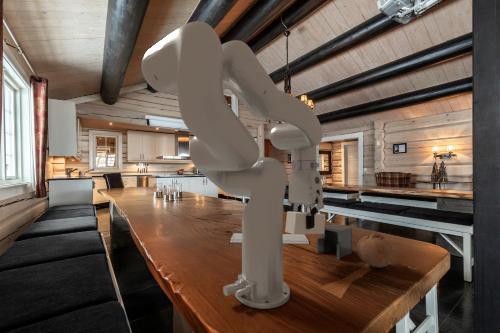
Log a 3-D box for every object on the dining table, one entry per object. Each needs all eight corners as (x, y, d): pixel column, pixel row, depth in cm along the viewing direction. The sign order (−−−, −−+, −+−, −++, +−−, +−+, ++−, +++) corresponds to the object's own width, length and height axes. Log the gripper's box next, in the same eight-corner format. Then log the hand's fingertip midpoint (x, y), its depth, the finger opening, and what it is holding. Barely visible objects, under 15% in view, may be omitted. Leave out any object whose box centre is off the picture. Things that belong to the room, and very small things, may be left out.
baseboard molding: (310, 247, 87) (304, 238, 99) (309, 239, 87) (304, 231, 99) (229, 245, 89) (233, 236, 101) (229, 237, 89) (233, 230, 101)
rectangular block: (294, 234, 64) (296, 213, 65) (285, 231, 67) (287, 211, 68) (323, 233, 73) (325, 214, 73) (314, 231, 75) (316, 212, 76)
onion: (381, 261, 72) (381, 229, 72) (400, 274, 62) (400, 238, 63) (351, 260, 72) (351, 229, 72) (365, 274, 63) (365, 237, 63)
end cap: (338, 260, 72) (338, 232, 73) (316, 252, 80) (316, 227, 80) (354, 253, 78) (354, 228, 78) (332, 246, 85) (331, 223, 85)
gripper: (335, 166, 65) (336, 230, 65) (292, 167, 79) (293, 220, 79) (318, 166, 61) (319, 235, 61) (276, 167, 74) (277, 223, 74)
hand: (304, 226), depth 70 cm, fingers closed on rectangular block, 3 cm apart
